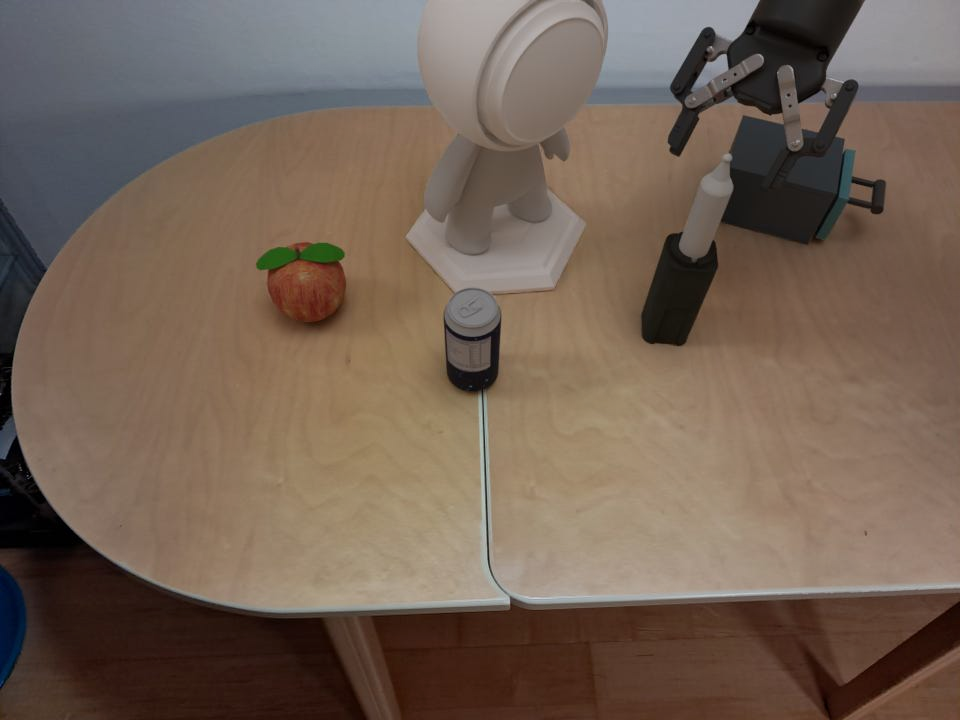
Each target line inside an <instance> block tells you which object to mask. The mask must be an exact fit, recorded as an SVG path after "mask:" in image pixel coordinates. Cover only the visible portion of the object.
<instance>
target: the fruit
mask: <svg viewBox="0 0 960 720" xmlns="http://www.w3.org/2000/svg"><path fill="white" fill-rule="evenodd" d="M345 255H346V252H345V251H344V250H343V249H342V248H341V247H339V246H337V245H334V244H332V243H329V242H316V243H313V242H309V241H304V242H303V241H302V242H295V243H293V244H290V245H287V246H277V247H274V248H270V249H269V250H267V251H266V252H265V253H263V254H262V255H261V256H260V257H259V258H258V259H257V261H256V263H255V267H256V269H257V270H258V271H267V281H266V285H267V291H268V294H269V296H270V298H271V300H272V303H273V304H274V305H275V306H276V308H277V309H278V310H279V311H280V312H281V313H282V314H283V315H285V316H286V317H289V318H291V319H293V320H294V321H298V322H306V323H312V322H313V323H314V322H318V321H322V320H324V319H326V318H328V317H329V316H331V315H332V314H333V313H335V312H336V311H337V309H338V308H339V307H340V305H341V304H342V302H343V300H344V297H345V294H346V287H347V278H346V274H345V270H344V267H343V265H342V264H341V262H340V261H342V260H343V259H344V258H345Z"/></svg>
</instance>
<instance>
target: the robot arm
mask: <svg viewBox="0 0 960 720" xmlns="http://www.w3.org/2000/svg"><path fill="white" fill-rule="evenodd" d="M865 2H866V0H759V1H758V3H757V5H756V7H755V8H754V10H753V12H752V14H751V16H750V18H749V19H748V22H747V23H746V26H745V28H744V29H743V31H742V32H741V34H740V35H739V36H738V37H736V38H735V39H734V40H730V39H728V38H726V37H724V36H722V35H720V34H718V33H716V31H715V29H714V28H713V27H711V26H706V27H703V29H702V30H701V31H700V33H699V35H697V38H696V39H695V42H694V43H693V45H692V47H691V48H690V49H689V52H688V54H687V56H686V57H685V59H684V60H683V62H682V64H681V66H680V67H679V69H678V71H677V73H676V74H675V76H674V77H673V79H672V81H671V83H670V85H669V90H670V93H671V94H672V95H673V97H674V99H675V100H676V101H678V102H679V103H680V104H681V110H680V112H679V115H678V116H677V119H676V120H675V123H674V124H673V126H672V127H671V130H670V132H669V134H668V136H667V144H668V145H669V146H670V147H669V149H668V151H669V153H670V154H671V155H673V156H675V157H678V158H679V157H680V156H681V155H682V153H683V152H684V150H685V148H686V146H687V144H688V142H689V140H690V138H691V136H692V134H693V132H694V131H695V129H696V128H697V125H698V123H699V122H700V117H699V115H700V114H702V113H703V112H704V111H706V110H708V109H709V108H712V107H713V106H716V105H719V104H721V103H723V102H725V101H727V100H729V99H730V98H734V99H735V100H736V102H737V103H738V104H740V105H743V106H745V107H753V108H756V109H757V110H759V111H760V112H761V113H763V114H766V115H767V116H770V117H772V115H780V114H781V115H782V121H783V124H784V128H785V134H786V141H787V146H786V148H785V149H783V148H782V149H781V151H780V153H779V155H778V156H777V158H776V160H775V162H774V163H773V165H772V167H771V169H770V170H769V172H768V174H767V176H766V177H765V179H764V181H763V183H762V184H761V186H760V188H759V192H760V193H762V194H764V195H768V194H769V192H770V191H771V190H773V191H775V192H776V191H778V190H779V189H780V188H781V187H782V185H783V184H784V182H785V180H786V179H787V177H788V175H789V173H790V172H791V170H792V168H793V166H794V165H795V163H796V161H797V160H798V159H799V158H801V157H803V156H815V157H817V158H821V157H824V156H825V155H826V154H827V152H828V150H829V148H830V146H831V144H832V142H833V140H834V138H835V137H837V134H838V133H839V130H840V128H841V126H842V124H843V123H844V121H845V119H846V117H847V115H848V113H849V112H850V109H851V107H852V105H853V103H854V101H855V99H856V98H857V94H858V90H859V83H858V81H857V80H856V79H854V78H853V79H847V80H845V81H843V80H841V79H836V78H834V77H829V76H827V70H828V67H829V65H830V63H831V62H832V60H833V58H834V56H836V55H835V54H836V53H837V52H838V49H839V48H840V46H841V44H842V42H843V41H844V39H845V37H846V35H847V34H848V32H849V30H850V29H851V26H852V25H853V23H854V21H855V20H856V17H857V16H858V15H859V12H860V11H861V8H862V7H863V5H864V3H865ZM723 55H726V63H727V70H726V71H724V72H722V73H721V74H719V75H717V76H716V77H714V78H712V79H711V80H709V81H708V83H706V84H705V85H703V86H702V87H700V88H699V89H697V90H694V91H692V89H693V87H694V86H695V84H696V82H697V81H698V79H699V77H700V75H701V74H702V72H703V70H704V69H705V67H706V65H707V64H708V63H713V62H715V61H717V59H718V58H719V57H720V56H723ZM820 92H823V93H824V94H825V98H824V106H825V107H826V108H827V109H829V110H828V113H827V115H826V117H825V118H824V120H823V123H822V125H821V127H820V128H819V130H818V131H817V132H818V134H817V136H816V138H803V135H802V129H803V128H802V123H801V114H800V107H799V104H801V103H803V102H804V101H807V100H809V99H810V98H812V97H813V96H816V95H817V94H819V93H820Z"/></svg>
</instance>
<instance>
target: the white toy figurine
mask: <svg viewBox="0 0 960 720" xmlns="http://www.w3.org/2000/svg"><path fill="white" fill-rule="evenodd" d="M420 17H421V18H420V21H419V25H418V32H417V44H416V45H417V49H416V50H417V61H418V68H419V74H420V77H421V81H422V85H423V87H424V90H425V92H426V93H427V96H428V98H429V101H430V102H431V104H432V106H433V107H434V108H435V110H436V111H437V113H438V114H439V116H440V117H441V118H442V119H443V121H444V122H445V123H446V124H448V126H449V127H451V128H452V129H453V130H454V131H455V132H456V133H457V134H456V136H455V137H454V138H452V141H450V143H449V144H448V146H447V147H446V148H445V150H444V151H443V153H442V155H441V156H440V158H439V159H438V161H437V162H436V164H435V166H434V168H433V170H432V171H431V174H430V175H429V178H428V180H427V183H426V186H425V190H424V195H423V203H424V210H423V211H422V212H421V214H419V216H418V218H417V220H416V221H415V222H414V224H413V225H412V226H411V228H410V229H409V231H408V232H407V234H406V236H405V239H406V241H407V242H408V243H409V244H410V245H411V246H412V248H413V249H415V251H416V252H417V253H418V254H419V255H420V256H421V258H422V259H423V260H424V261H425V262H426V263H427V264H428V265H429V266H430V268H431V269H432V270H433V271H434V272H435V273H436V274H437V275H438V276H439V278H440V279H441V280H442V281H443V282H444V283H445V284H446V285H447V286H448V288H449V289H450V290H451V291H452V292H453V294H454V293H456V292H457V291H459V290H461V289H465V288H471V287H474V288H480V289H483V290H486V291H488V292H489V293H491V294H492V295H493V296H494V295H505V294H519V293H520V294H521V293H533V292H545V291H546V292H547V291H554V290H555V289H556V286H557V284H558V283H559V281H560V278H561V276H562V275H563V273H564V270H566V267H567V265H568V263H569V261H570V259H571V257H572V255H573V253H574V251H575V249H576V247H577V245H578V243H579V241H580V239H581V237H582V236H583V233H584V232H585V229H586V227H587V222H586V221H584V220H583V219H582V218H581V217H580V216H578V214H576V212H574V211H573V210H572V209H571V208H570V207H569V206H568V205H567V204H565V203H564V202H563V201H562V200H561V199H560V198H558V196H557V195H556V194H554V193H553V192H552V191H551V190H550V188H548V187H547V178H546V174H545V167H544V163H543V158H542V154H541V150H540V147H541V148H542V150H543V153H544V156H545V158H546V160H548V161H549V160H550V161H551V160H553V159H554V156H555V157H557V158H558V159H559V160H560V161H562V162H566V161H567V160H568V158H569V157H570V149H571V145H570V144H571V143H570V139H569V136H568V133H567V131H566V129H565V127H566V126H567V125H568V124H570V122H571V121H572V120H574V118H575V117H576V116H577V115H578V114H579V113H580V111H581V110H582V109H583V108H584V106H585V105H586V103H587V102H588V100H589V99H590V97H591V95H592V93H593V91H594V89H595V87H596V85H597V82H598V80H599V77H600V75H601V73H602V67H603V63H604V59H605V56H606V53H607V47H608V39H609V22H608V17H607V12H606V8H605V6H604V2H603V0H427V1H426V3H425V5H424V8H423V10H422V13H421V16H420Z"/></svg>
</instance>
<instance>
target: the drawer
mask: <svg viewBox="0 0 960 720" xmlns="http://www.w3.org/2000/svg"><path fill="white" fill-rule="evenodd" d="M855 157H856V150H854V149H849V148H845V149H844V150H843V155H842V162H841V168H840V175H839V182H838V189H837V194H836V196H835V198H834V199H833V201H832V203H831V205H830V207H829V208H828V210H827V212H826V214H825V215H824V217H823V219H822V221H821V222H820V224H819V226H818V228H817V229H816V231H815V239H818V240H822V241H826V240H827V238H828V236H829V234H830V233H831V231H832V230H833V227H835V224H836V222H837V221H838V219H839V218H840V216H841V214H842V212H843V210H844V209H845V208H846V205H851V206H855V207H860V208H862V209H863V208H864V209H867V210H870V213H871V214H872V215H881V214H882V213H883V212H884V210H885V199H886V188H887V182H886V181H885V180H884V179H880V178H879V179H876V180H869V179H865V178H861V177H857V176H854V175H853V173H854V165H855ZM852 184H854V185H858V186H863V187H866V188H870V189H871V190H872V192H871V199H870V201H867V200H864V199H859V198H855V197H852V196H850V195H851V186H852Z"/></svg>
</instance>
